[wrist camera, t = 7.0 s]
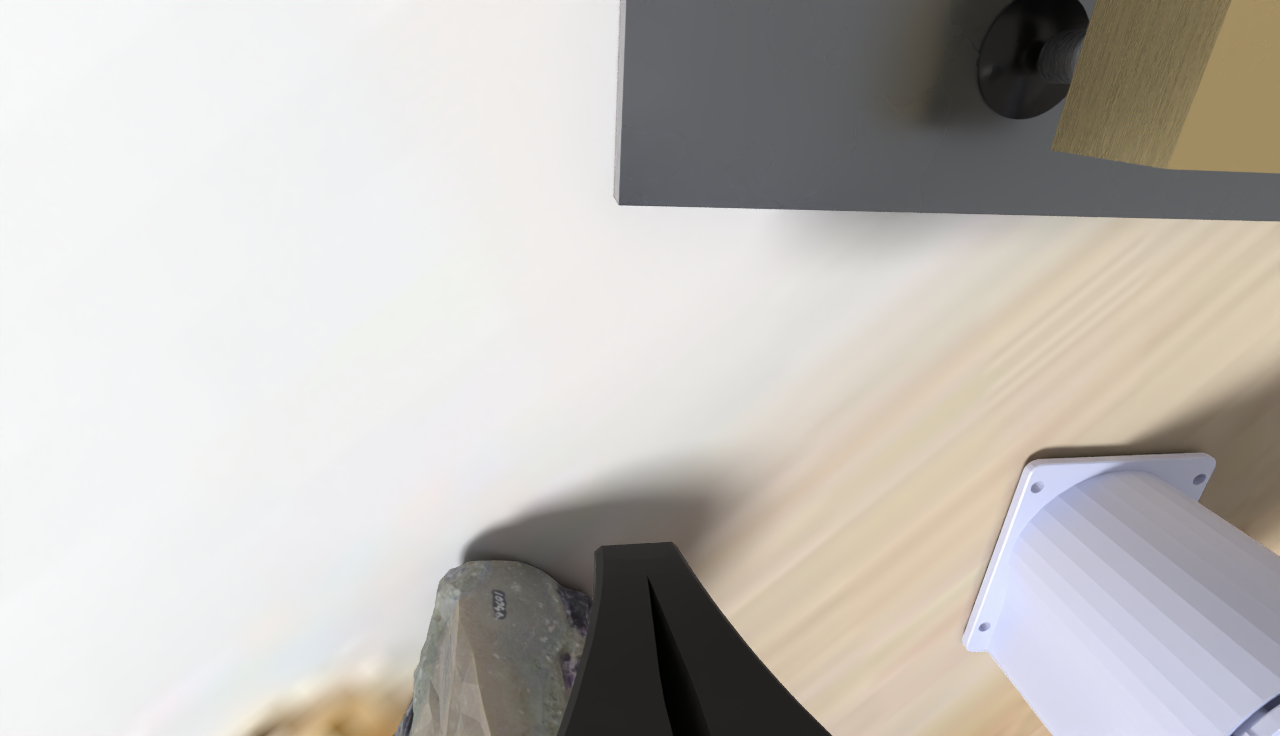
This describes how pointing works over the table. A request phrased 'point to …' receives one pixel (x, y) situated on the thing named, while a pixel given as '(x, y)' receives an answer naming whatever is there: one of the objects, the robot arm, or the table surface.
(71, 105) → the table surface
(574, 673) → the mineral rock
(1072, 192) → the plate
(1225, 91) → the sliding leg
